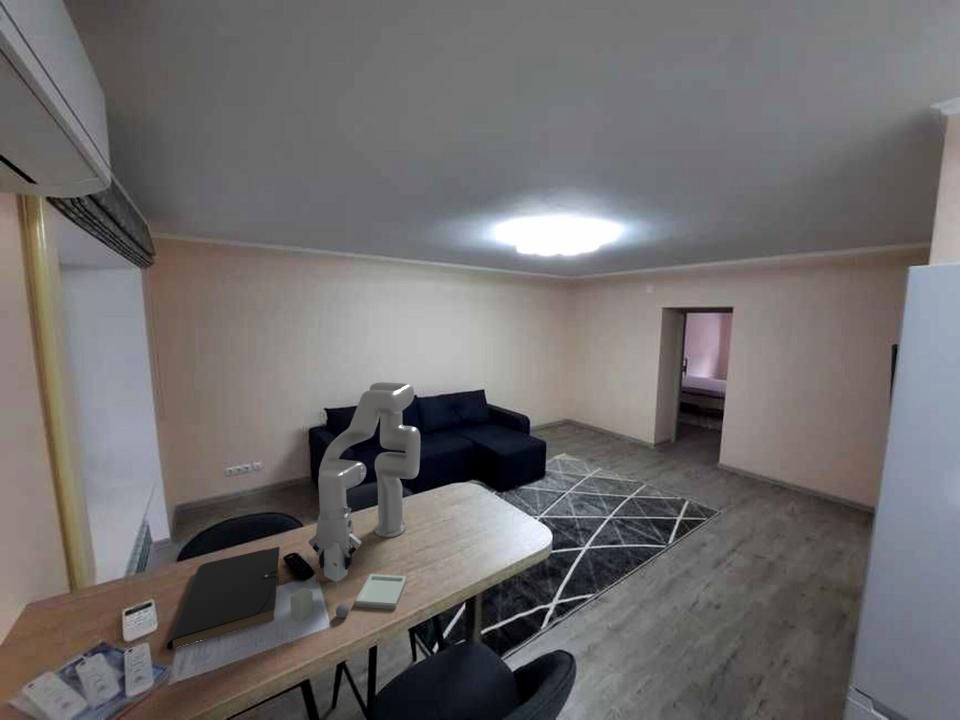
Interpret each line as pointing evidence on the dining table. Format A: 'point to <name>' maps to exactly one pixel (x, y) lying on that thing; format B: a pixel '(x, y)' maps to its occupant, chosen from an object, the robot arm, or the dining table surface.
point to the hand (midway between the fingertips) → (336, 565)
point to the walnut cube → (321, 574)
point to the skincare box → (334, 563)
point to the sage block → (301, 603)
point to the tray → (381, 591)
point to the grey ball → (342, 610)
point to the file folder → (228, 597)
